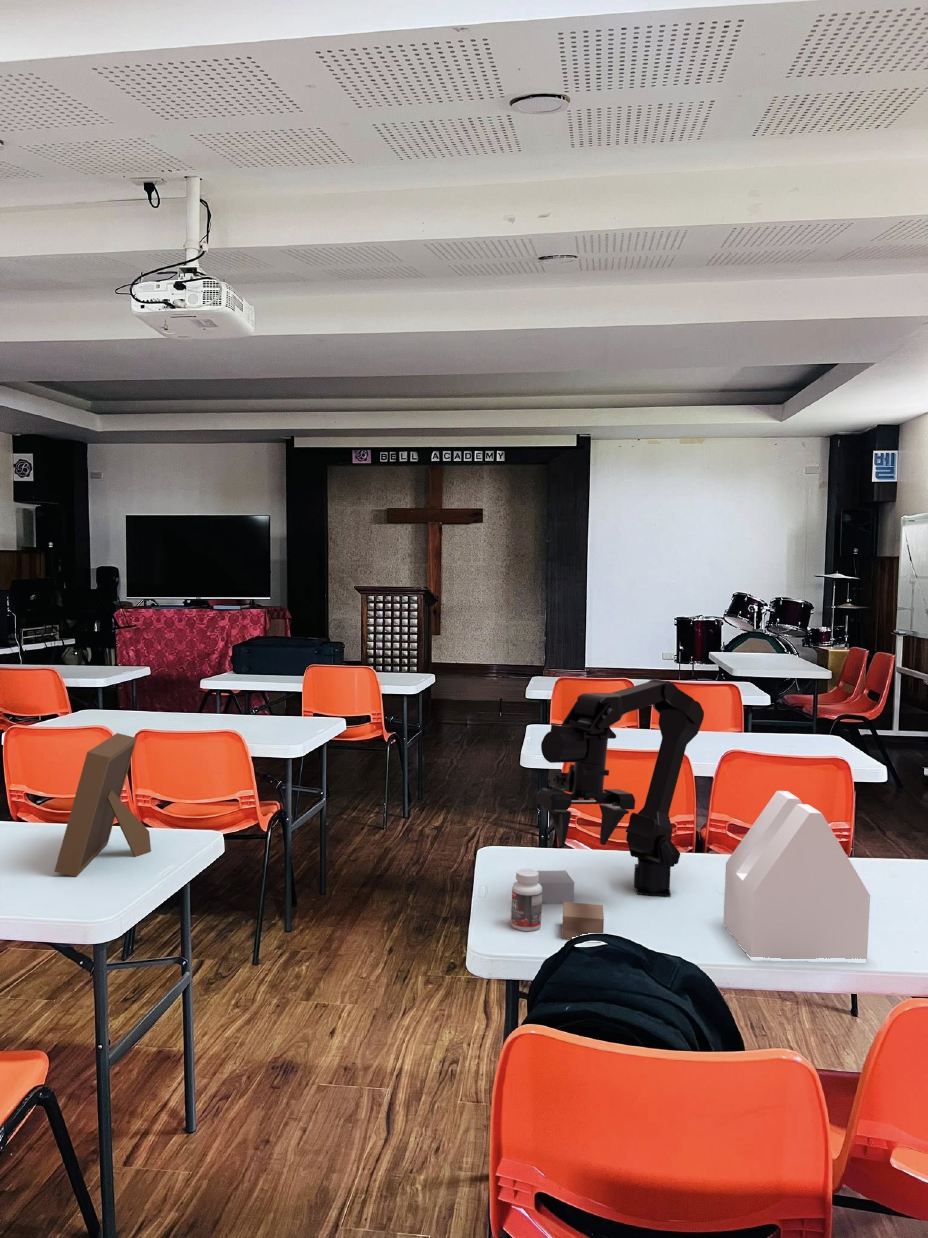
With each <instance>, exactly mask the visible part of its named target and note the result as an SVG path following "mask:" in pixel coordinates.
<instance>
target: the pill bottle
mask: <svg viewBox="0 0 928 1238" xmlns="http://www.w3.org/2000/svg"><path fill="white" fill-rule="evenodd" d="M537 871H538V870H534V869H531V868H520V869H517V870H516V872H515V880H516V882H514V883H513V884H512V885H511V906H510V907H511V908H510V912H511V913H510V926H511V927H512V928H513V929H516V930H519V931H524V932H533V931H537V930H539V929H540V928H541V926H542V909H543V908H542V906H543V905H542V904H543V903H542V887H541V885H540V884H539V883H537V882H538V881H539V873H538V872H537Z"/></svg>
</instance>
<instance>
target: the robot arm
mask: <svg viewBox="0 0 928 1238" xmlns="http://www.w3.org/2000/svg"><path fill="white" fill-rule="evenodd" d="M650 706H652V708H653V709H654V710H655V712H657V713H658V714H659V716H658V723H657V724H658V727H659V731H660V735H661V741H660V746H659V749H658V753H657V757H656V761H655V765H654V768H653V771H652V775H651V779H650V783H649V787H648V790H647V794H646V796H645V797H646V798H645V801H644V805H643V806H642V808H641V809H640V810H639V811H638V812H632V813H631V814H630V816H629V821H628V825H627V827H626V829H625V833H626V837H625V839H626V843H627V845H628V849H629V854H630V856H631V857H632V858H633V857H634V858H637V863H635V864H634V872H633V873H634V875H633V886H634V888H635V889H636V894H638V895H646V896H647V895H648V896H661V897H671V896H672V895H671V894H672V892H671V890H670V889H671V886H670V885H671V867H675V865H678V864H679V860H680V857H681V852H680V851H679V849H678V848H677V847H676V845H675V844H674V843H673V841H672V836H673V826H672V823H671V819H670V818H671V817H670V815H669V813H670V811H671V806H672V802H673V799H674V794H675V790H676V788H677V787H676V786H677V782H678V779H679V775H680V771H681V769H682V764H683V760H684V756H685V754H686V753H685V752H686V749H687V746H688V744H689V743H690V742H691V741H692V740H693V739H694V738H695V737H696V736H697V735H698V733H699V731H700V729H701V726H702V723H703V722H704V717H705V716H704V715H705V711H704V708H702V705H701V703H700V702H699V701H698V700H695V698H693V697H692V696H690V695H688V694H687V693H686V692H684V691H682V690H681V689H680V688H678V687H677V685H675V684H674V683H673V682H671V681H670V680H665V679H663V680H662V679H657V678H653V679H649V680H648V681H647V682H643V683H641V684H637V685H633V686H630V687H627V688H624V689H623V688H622V689H620V690H617V691H614V692H586V693H581V694H580V695H578V696H577V698H576V702H575V703H574V704H573V705H572V707H571V709H570V711H569V712H568V714H567V715H566V717H565V718H564V720H563V721H562V723H561V724H551V726H550V731H548V732H546V734H545V735H544V737H543V739H542V740H541V744H540V747H541V754H542V756H543V758H544V760H545V761H546V762H548V763H551V764H554V763H555V764H558V763H559V764H560V763H561V764H562V763H563V764H564V763H565V764H566V763H570V766H569V769H568V772H562V770H561V768H551V769H549V770H548V774H547V783H548V786H549V788H541V789H539V790H538V792H537V794H536V801H535V802H536V804H538V805H540V806H541V807H542V809H544V810H546V811H548V813H549V815H550V816H551V819H552V821H553V825H554V830H555V833H556V837H557V842H558V845H559V846H560V847H564V846H565V843H566V841H567V836H568V833H569V832H568V831H569V826H570V821H571V816H572V811H570V810H568V809H570V807H571V806H572V805H598V806H599V808H600V812H601V823H600V833H599V844H600V846H601V845H602V846H605V845H607V843H608V841H609V839H610V838H611V835H612V834H613V833H614V831H615V829H616V828H617V826H618V825H619V823H620V822H621V821H622V820H623V818H624V816H625V815H629V813H630V810H635V807H636V799H635V797H634V794H633V793H631V792H628V791H624V790H622V789H620V788H604V787H605V786H604V785H605V783H604V782H605V776H606V777H607V776H609V775H610V769H607V768H606V762H607V752H608V743H609V740H610V739H614V740H615V739H616V738H617V734H616V733H615V732H614V731H613V730H612V729H611V726H612V725H614V724H617V722H619V721H621V719H622V718H623V716H624V715H626V714H628V713H630V712H631V713H632V712H634V711H637V710H640V709H644V708H647V707H650ZM608 739H609V740H608ZM572 763H573V764H572ZM550 787H552V788H550ZM553 787H554V788H553Z"/></svg>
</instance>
